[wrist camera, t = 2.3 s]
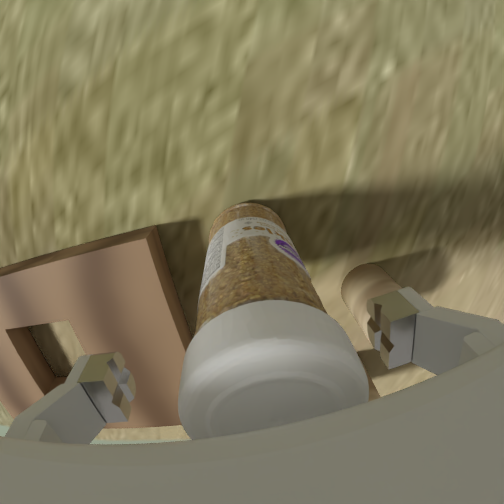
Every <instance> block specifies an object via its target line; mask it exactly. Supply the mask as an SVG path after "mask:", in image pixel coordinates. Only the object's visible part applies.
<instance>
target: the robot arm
mask: <svg viewBox="0 0 504 504" xmlns="http://www.w3.org/2000/svg"><path fill="white" fill-rule="evenodd" d="M367 312H368V313H369V315H370V316H371V317H370V319H369V320H368V322H367V331H368V336H369V340H370V342H371V344H372V346H373V347H374V349H376V350H379V351H380V358H381V359H382V361H383V362H384V364H385V365H386V367H387V368H388V369H391V368H395V367H398V366H401V365H404V364H407V363H409V362H412V363H414V364H416V365H418V366H420V367H422V368H424V369H426V370H428V371H430V372H432V373H434V374H436V375H437V376H434V377H432V378H430V379H427V380H425V381H423V382H420V383H418V384H415V385H413V386H410V387H408V388H405V389H403V390H400V391H397V392H394V393H392V394H389V395H386V396H383V397H381V398H378V399H375V400H372V401H369V402H366V403H363V404H360V405H356V406H353V407H350V408H347V409H343V410H340V411H336V412H333V413H329V414H326V415H322V416H318V417H314V418H310V419H307V420H302V421H298V422H294V423H290V424H285V425H281V426H276V427H271V428H266V429H261V430H256V431H251V432H245V433H239V434H233V435H227V436H220V437H212V438H205V439H196V440H187V441H176V442H164V443H149V444H148V443H147V444H122V445H121V444H120V445H119V444H117V445H116V444H115V445H100V444H97V445H96V444H90V443H91V441H92V440H93V439H94V438H95V437H96V436H97V435H98V433H99V432H100V431H101V430H102V429H103V428H104V427H105V425H106V423H116V422H128V420H129V416H130V413H131V409H132V407H131V405H130V402H131V401H132V400H133V399H134V398H135V394H136V384H135V381H134V377H133V375H132V373H131V372H130V371H129V370H127V369H126V368H125V367H124V365H125V362H126V361H125V360H124V358H123V356H122V354H121V353H119V352H109V353H100V354H90V355H82V356H80V357H78V359H77V361H76V363H75V365H74V366H73V368H72V370H71V372H70V374H69V376H68V377H67V379H66V381H65V383H64V384H60V385H59V386H57V387H56V388H55V389H53V390H52V391H51V392H49V393H48V394H46V395H45V396H44V397H42V398H41V399H40V400H38V401H37V402H35V403H34V404H33V405H31V406H30V407H29V408H27V409H26V410H25V411H23V412H22V413H20V414H19V415H18V416H16V417H15V419H14V421H13V422H12V424H11V426H10V428H9V430H8V432H7V433H6V435H5V437H1V436H0V504H504V324H503V323H501V322H500V321H499V320H497V319H492V318H488V317H483V316H479V315H474V314H470V313H465V312H461V311H457V310H452V309H448V308H443V307H439V306H437V307H433V306H432V305H431V304H429V303H428V302H427V301H426V300H425V299H424V298H423V297H422V296H420V295H419V294H418V293H417V292H416V291H415V290H413V289H412V288H411V287H408V286H407V287H404V288H402V289H399V290H396V291H393V292H390V293H387V294H384V295H381V296H377V297H374V298H371V299H368V300H367Z"/></svg>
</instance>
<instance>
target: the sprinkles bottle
mask: <svg viewBox="0 0 504 504" xmlns="http://www.w3.org/2000/svg"><path fill="white" fill-rule="evenodd" d="M197 311H198V316H197V321H196V329H195V336H194V338H193V339H192V341H191V342H190V344H189V346H188V348H187V351H186V353H185V356H184V361H183V368H182V374H181V379H180V387H179V396H178V413H179V417H180V421H181V424H182V426H183V428H184V430H185V431H186V433H187V434H188V436H189V437H190V438H191V439H192V440H196V439H205V438H212V437H220V436H227V435H233V434H239V433H245V432H251V431H256V430H261V429H266V428H271V427H276V426H281V425H285V424H290V423H294V422H298V421H302V420H307V419H310V418H314V417H318V416H322V415H326V414H329V413H333V412H336V411H340V410H343V409H347V408H350V407H353V406H356V405H360V404H363V403H366V402H368V399H369V384H368V378H367V375H366V372H365V370H364V367H363V365H362V363H361V361H360V359H359V357H358V354H357V352H356V350H355V349H354V347H353V345H352V343H351V341H350V340H349V338H348V336H347V334H346V332H345V331H344V329H343V328H342V327H341V326H340V325H339V323H338V322H336V321H335V320H334V319H333V318H332V317H330V316H329V315H328V314H327V312H326V311H325V309H324V307H323V305H322V302H321V300H320V298H319V296H318V295H317V293H316V291H315V289H314V287H313V285H312V283H311V278H310V275H309V274H308V272H307V270H306V268H305V266H304V264H303V262H302V260H301V259H300V257H299V255H298V253H297V251H296V249H295V247H294V245H293V243H292V241H291V239H290V237H289V236H288V235H287V232H286V229H285V226H284V224H283V222H282V221H281V219H280V217H279V216H278V215H277V214H276V213H275V212H273V211H272V210H271V209H270V208H268V207H266V206H263V205H261V204H257V203H240V204H236V205H233V206H231V207H230V208H228V209H226V210H225V211H223V212H222V213H221V214H220V215H219V216H218V217H217V218H216V219H215V221H214V223H213V226H212V228H211V230H210V234H209V247H208V250H207V255H206V260H205V267H204V273H203V278H202V284H201V289H200V295H199V300H198V308H197Z"/></svg>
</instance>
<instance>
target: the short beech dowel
mask: <svg viewBox="0 0 504 504" xmlns="http://www.w3.org/2000/svg"><path fill="white" fill-rule="evenodd" d="M399 289H402V288H401V287H400V286H399V285H398V284H397V283H396V282H395V281H394V280H393V279H392V278H391V277H390V276H389V275H388V274H387V273H386V272H385V271H384V270H383V269H382V268H381V267H379V266H378V265H375V264H362V265H360V266H357V267H356V268H354V269H353V270H351V271H350V272H349V273H348V275H347V276H346V277H345V279H344V281H343V283H342V287H341V295H342V299H343V301H344V302H345V304H346V305H347V307H348V308H349V310H350V312H351V313H352V315H353V316H354V318H355V319H356V321H357V323H358V324H359V326H360V327H361V329H362V330H363V332H364V334H365V335H366V337H367V338H368V340H369V336H368V331H367V322H368V320H369V319H370V317H371V316H370V315H369V313H368V312H367V300H368V299H371V298H374V297H377V296H381V295H384V294H387V293H390V292H393V291H396V290H399ZM369 342H370V340H369ZM370 343H371V342H370ZM371 345H372V344H371Z"/></svg>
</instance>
